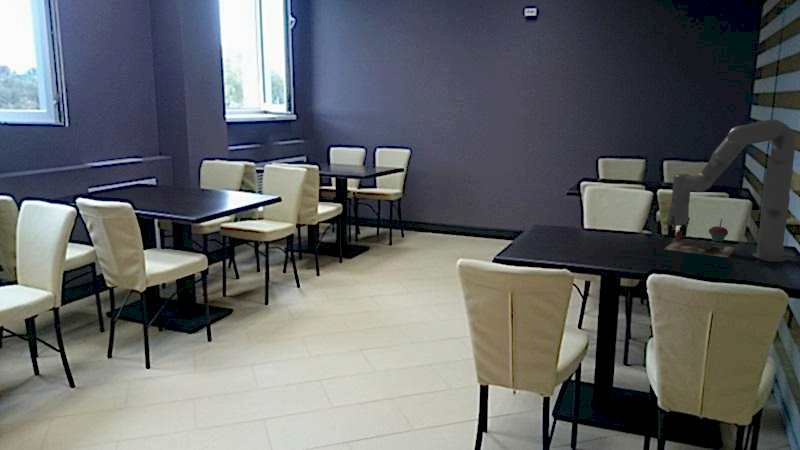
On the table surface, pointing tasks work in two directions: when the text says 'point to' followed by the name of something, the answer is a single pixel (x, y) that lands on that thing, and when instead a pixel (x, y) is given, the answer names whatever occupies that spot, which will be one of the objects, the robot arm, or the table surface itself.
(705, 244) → the walnut
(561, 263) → the table surface
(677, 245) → the cracker base
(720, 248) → the lever
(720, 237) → the cupcake
